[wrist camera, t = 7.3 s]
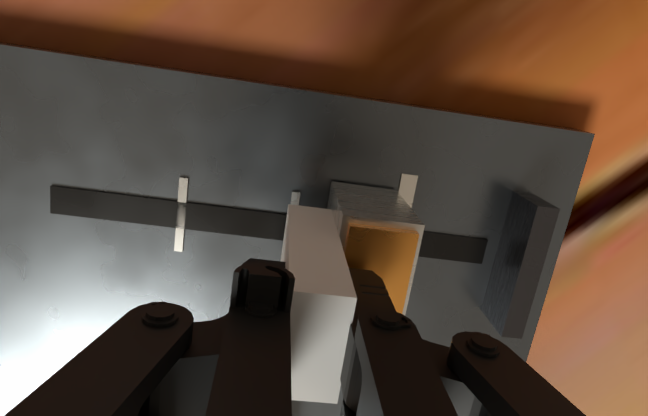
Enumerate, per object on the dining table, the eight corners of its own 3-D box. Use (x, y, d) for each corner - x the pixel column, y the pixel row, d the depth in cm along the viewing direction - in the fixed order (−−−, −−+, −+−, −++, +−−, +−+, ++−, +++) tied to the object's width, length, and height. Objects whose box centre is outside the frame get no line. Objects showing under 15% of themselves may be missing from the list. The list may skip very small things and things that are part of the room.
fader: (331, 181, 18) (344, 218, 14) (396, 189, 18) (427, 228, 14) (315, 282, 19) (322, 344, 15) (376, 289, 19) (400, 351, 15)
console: (-25, 38, 17) (-93, 34, 14) (576, 129, 20) (630, 142, 17) (-7, 500, 23) (-52, 570, 20) (460, 527, 25) (484, 593, 22)
